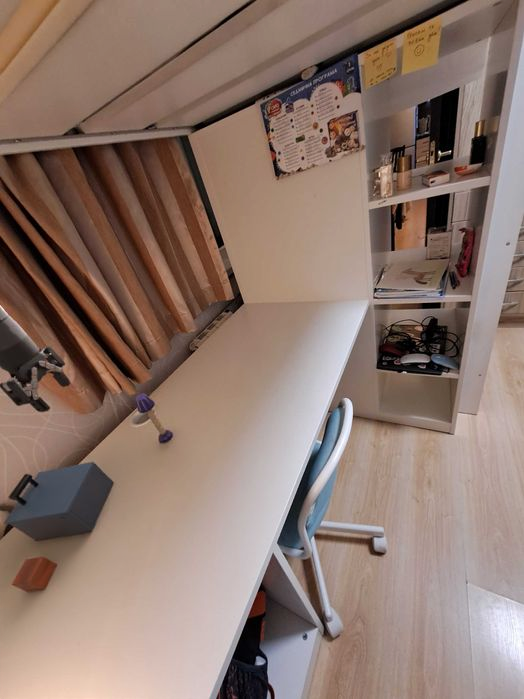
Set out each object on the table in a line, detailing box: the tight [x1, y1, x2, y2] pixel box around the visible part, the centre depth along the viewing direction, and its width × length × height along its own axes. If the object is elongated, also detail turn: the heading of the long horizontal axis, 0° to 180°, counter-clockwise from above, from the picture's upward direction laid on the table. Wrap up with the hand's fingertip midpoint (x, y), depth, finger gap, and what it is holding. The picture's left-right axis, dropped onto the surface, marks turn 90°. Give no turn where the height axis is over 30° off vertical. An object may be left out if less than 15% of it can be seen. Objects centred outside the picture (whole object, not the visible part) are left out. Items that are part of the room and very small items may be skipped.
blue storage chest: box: [9, 463, 115, 542], centre depth 72 cm, size 16×13×9 cm
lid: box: [3, 461, 96, 525], centre depth 69 cm, size 16×13×5 cm
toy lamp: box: [134, 393, 173, 444], centre depth 83 cm, size 5×5×17 cm
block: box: [11, 556, 58, 593], centre depth 61 cm, size 4×4×4 cm
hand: (56, 397), depth 69 cm, fingers open, 8 cm apart
